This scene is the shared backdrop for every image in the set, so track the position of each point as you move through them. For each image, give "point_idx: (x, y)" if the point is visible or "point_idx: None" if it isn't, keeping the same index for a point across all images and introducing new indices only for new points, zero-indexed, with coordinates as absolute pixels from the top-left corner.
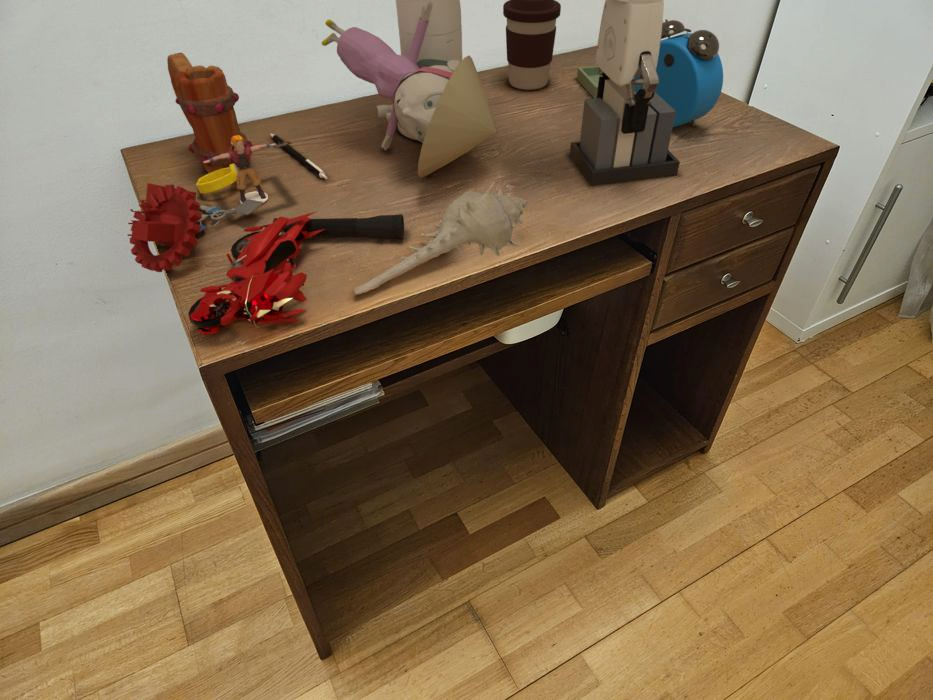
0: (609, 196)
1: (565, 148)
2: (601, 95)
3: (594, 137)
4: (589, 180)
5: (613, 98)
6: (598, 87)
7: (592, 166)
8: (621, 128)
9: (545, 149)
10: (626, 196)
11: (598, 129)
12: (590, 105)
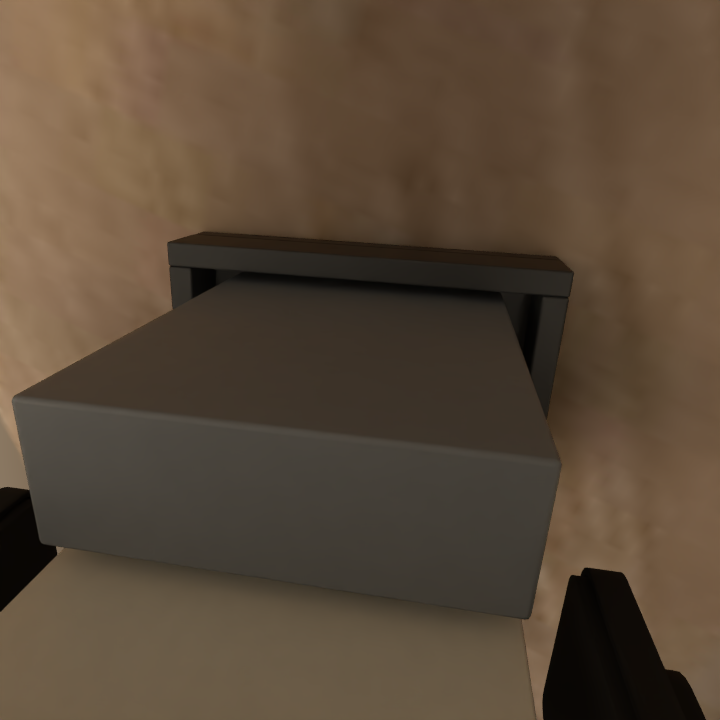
0: (100, 275)
1: (652, 267)
2: (588, 658)
3: (229, 333)
4: (221, 234)
5: (225, 684)
6: (663, 716)
7: (231, 270)
8: (11, 500)
9: (703, 135)
10: (93, 345)
11: (124, 357)
12: (367, 447)
